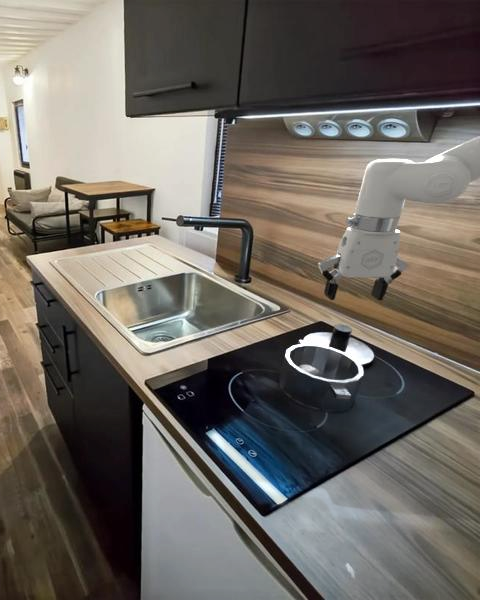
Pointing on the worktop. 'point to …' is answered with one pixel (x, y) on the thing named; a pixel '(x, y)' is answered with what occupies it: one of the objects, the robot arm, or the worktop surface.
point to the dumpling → (309, 369)
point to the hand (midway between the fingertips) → (352, 297)
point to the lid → (343, 343)
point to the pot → (321, 377)
